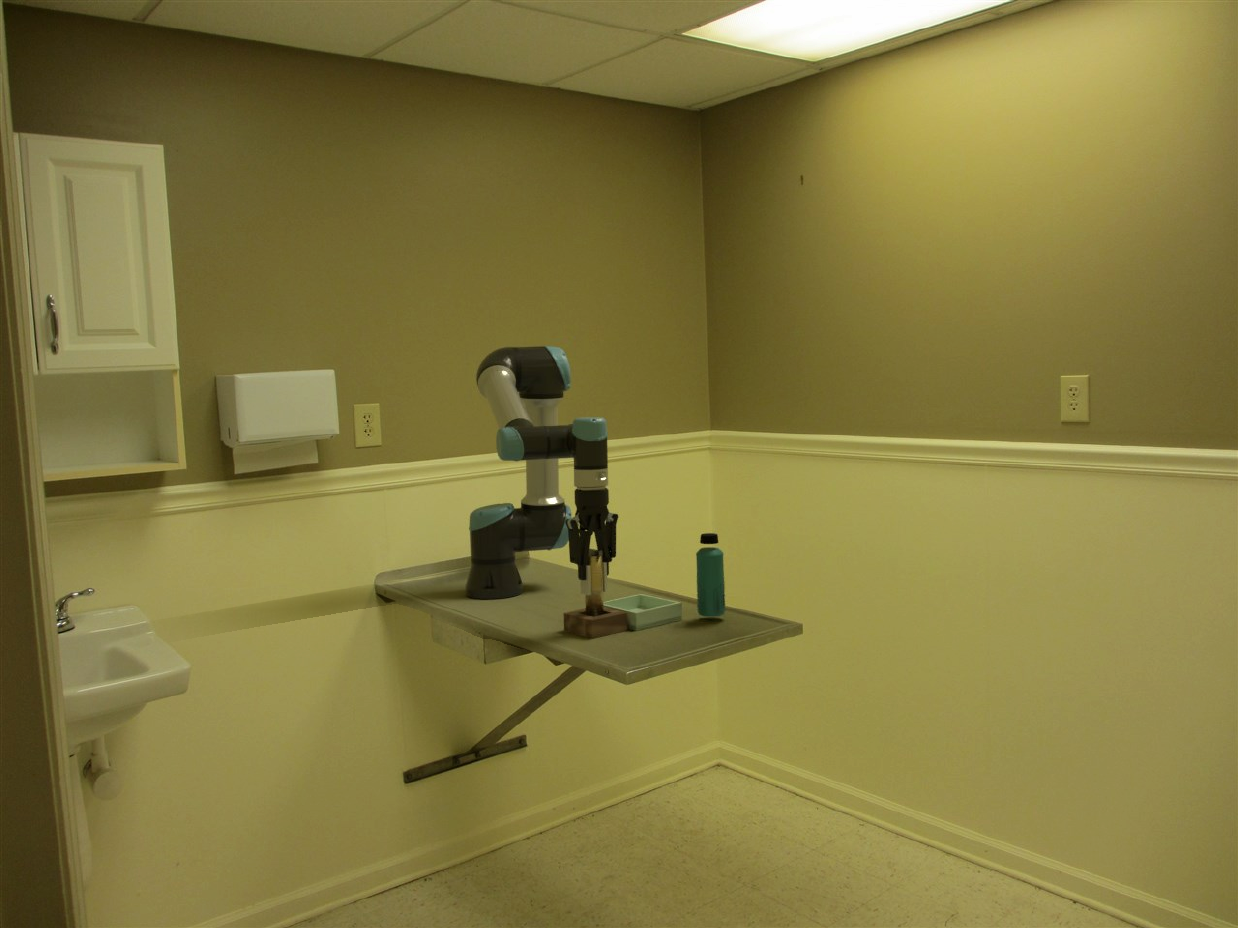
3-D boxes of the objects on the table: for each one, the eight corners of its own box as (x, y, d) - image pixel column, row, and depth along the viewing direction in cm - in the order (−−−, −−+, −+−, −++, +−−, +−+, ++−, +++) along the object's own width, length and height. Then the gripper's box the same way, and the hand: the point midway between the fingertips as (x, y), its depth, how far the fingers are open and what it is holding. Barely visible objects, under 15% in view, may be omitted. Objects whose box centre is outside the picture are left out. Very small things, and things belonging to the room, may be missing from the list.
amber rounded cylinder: (580, 616, 222) (578, 549, 221) (594, 613, 225) (592, 547, 224) (595, 620, 219) (593, 552, 217) (609, 617, 221) (607, 549, 220)
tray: (596, 620, 231) (595, 603, 231) (641, 610, 240) (640, 593, 240) (636, 630, 220) (636, 612, 220) (681, 619, 229) (681, 602, 229)
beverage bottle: (728, 622, 226) (726, 535, 224) (699, 623, 225) (697, 536, 223) (722, 615, 232) (721, 530, 230) (694, 617, 232) (692, 531, 230)
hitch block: (564, 630, 222) (563, 612, 222) (598, 622, 229) (598, 605, 228) (592, 638, 215) (591, 620, 214) (627, 630, 221) (626, 612, 221)
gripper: (571, 492, 211) (574, 601, 213) (631, 485, 222) (634, 588, 224) (550, 490, 216) (553, 596, 219) (609, 483, 227) (612, 583, 230)
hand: (594, 592), depth 221 cm, fingers closed on amber rounded cylinder, 4 cm apart
